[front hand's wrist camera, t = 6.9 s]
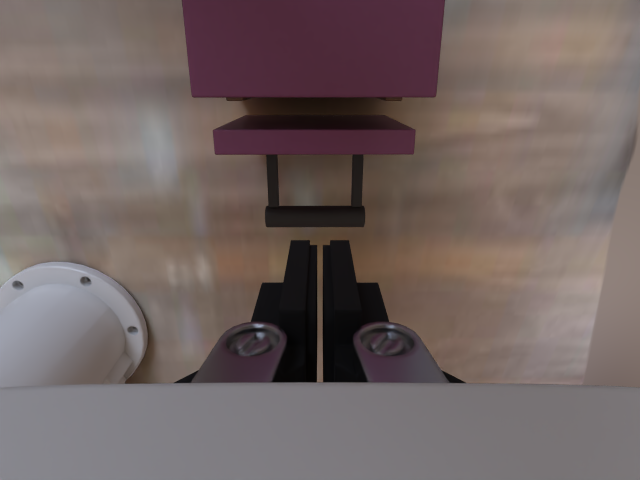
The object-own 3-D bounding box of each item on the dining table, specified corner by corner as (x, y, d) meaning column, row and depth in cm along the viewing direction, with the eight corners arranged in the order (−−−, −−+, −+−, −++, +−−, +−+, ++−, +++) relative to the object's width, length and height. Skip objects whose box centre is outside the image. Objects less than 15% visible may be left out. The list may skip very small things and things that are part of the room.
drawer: (380, 202, 32) (406, 251, 22) (250, 202, 31) (223, 251, 22) (399, -151, 24) (449, -292, 15) (228, -151, 24) (175, -294, 15)
